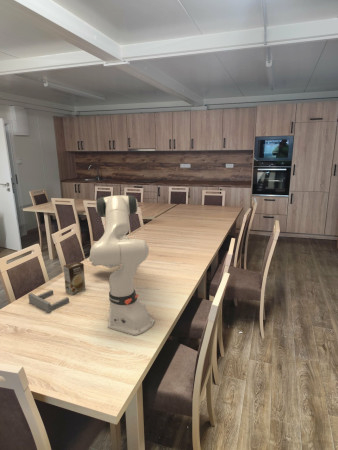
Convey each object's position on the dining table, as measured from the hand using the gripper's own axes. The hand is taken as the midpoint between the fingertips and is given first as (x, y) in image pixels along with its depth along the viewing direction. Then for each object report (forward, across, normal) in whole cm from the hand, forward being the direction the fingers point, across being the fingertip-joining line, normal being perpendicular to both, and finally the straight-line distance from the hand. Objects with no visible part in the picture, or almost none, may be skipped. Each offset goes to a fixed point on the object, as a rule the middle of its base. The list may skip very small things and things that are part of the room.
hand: (92, 264), depth 175 cm
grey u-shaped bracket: (+30, 0, +11) cm, 32 cm away
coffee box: (+14, 0, +12) cm, 18 cm away
